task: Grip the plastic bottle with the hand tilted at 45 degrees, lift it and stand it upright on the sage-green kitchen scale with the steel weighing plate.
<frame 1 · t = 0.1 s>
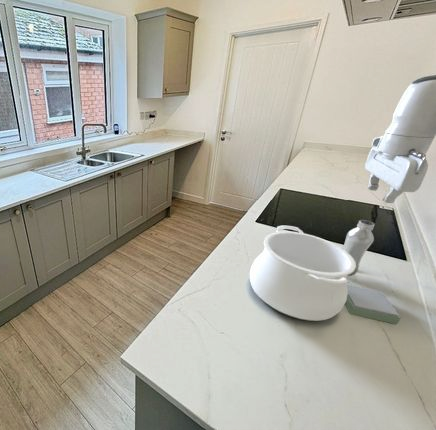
hand: (379, 195, 73), 31 cm above the worktop, tool pointing down, fingers open, 8 cm apart
plastic bottle: (342, 273, 91), on the worktop
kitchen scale: (364, 305, 78), on the worktop
pot: (289, 295, 82), on the worktop
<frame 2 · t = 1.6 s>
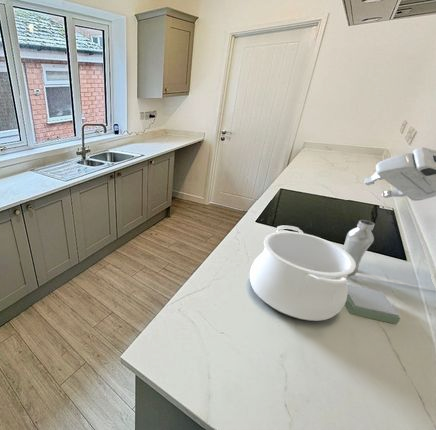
hand: (374, 188, 82), 30 cm above the worktop, tool tilted 50°, fingers open, 8 cm apart
nothing on the worktop moved.
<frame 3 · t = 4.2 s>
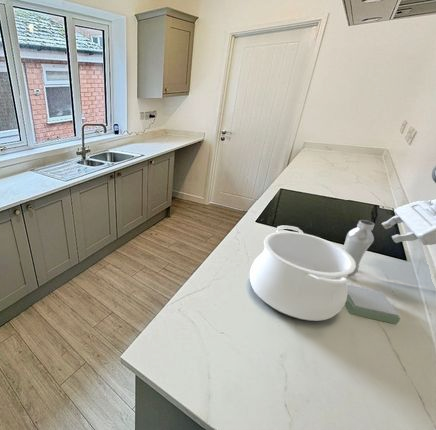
hand: (387, 232, 82), 17 cm above the worktop, tool tilted 45°, fingers open, 8 cm apart
nothing on the worktop moved.
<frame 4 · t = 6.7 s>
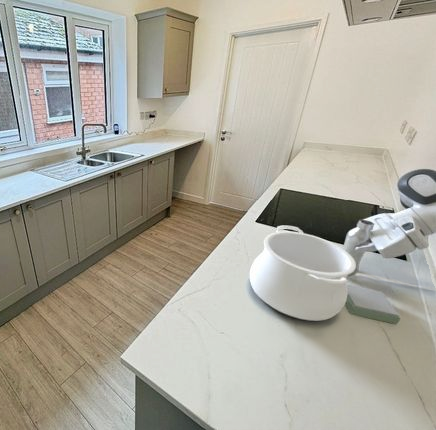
hand: (353, 244, 86), 11 cm above the worktop, tool tilted 45°, fingers closed on plastic bottle, 6 cm apart
plastic bottle: (342, 273, 91), on the worktop, touching gripper
everything else where it was.
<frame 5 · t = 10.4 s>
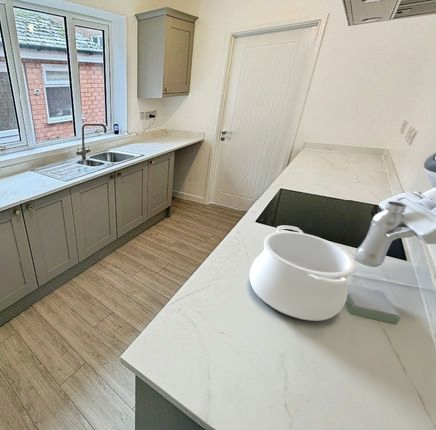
hand: (380, 231, 75), 21 cm above the worktop, tool tilted 45°, fingers closed on plastic bottle, 6 cm apart
plastic bottle: (365, 263, 80), point 10 cm above the worktop, touching gripper
everything else where it was.
when the fingers open (14 cm above the worktop, at t = 14.4 s): plastic bottle stays where it is, resting on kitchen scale.
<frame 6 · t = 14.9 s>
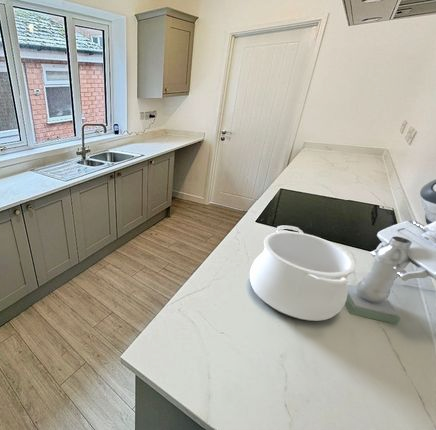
hand: (385, 265, 71), 15 cm above the worktop, tool tilted 45°, fingers open, 8 cm apart
plastic bottle: (368, 298, 77), point 3 cm above the worktop, touching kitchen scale
everything else where it was.
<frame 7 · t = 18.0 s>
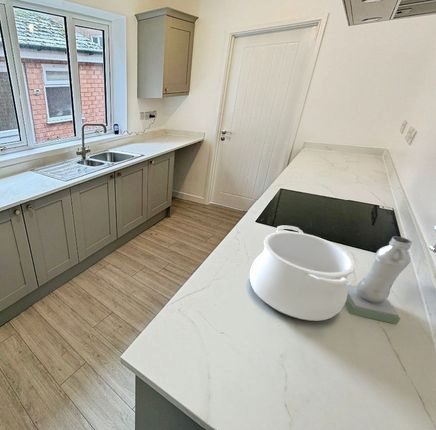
nothing on the worktop moved.
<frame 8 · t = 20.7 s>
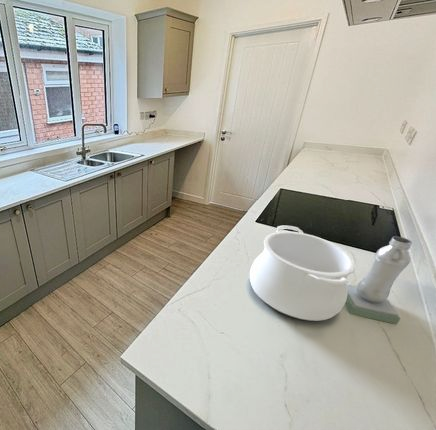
nothing on the worktop moved.
at the end: plastic bottle inside the target area on the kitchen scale (0.3 cm from its centre), point 2.8 cm above the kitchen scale's base; plastic bottle tilted 0°; the gripper is holding nothing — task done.
